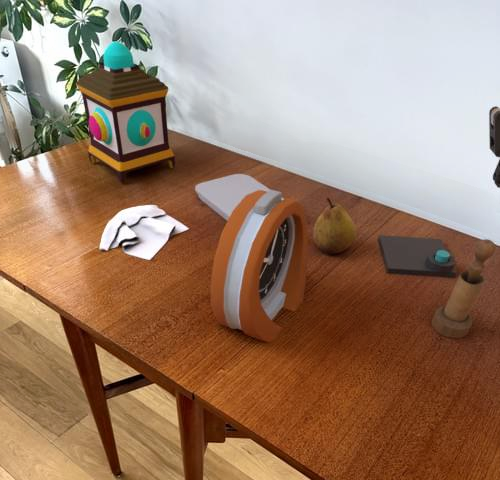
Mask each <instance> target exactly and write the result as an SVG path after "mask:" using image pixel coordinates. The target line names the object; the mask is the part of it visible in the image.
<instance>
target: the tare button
mask: <svg viewBox="0 0 500 480" xmlns="http://www.w3.org/2000/svg"><path fill="white" fill-rule="evenodd" d="M450 255H451V254H450V253H449V251H447V250H446V251H444V250H439V251H437V253H436V256H435V260H436V261H438V262H441V263H447V262H448V259H449V257H450Z"/></svg>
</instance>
